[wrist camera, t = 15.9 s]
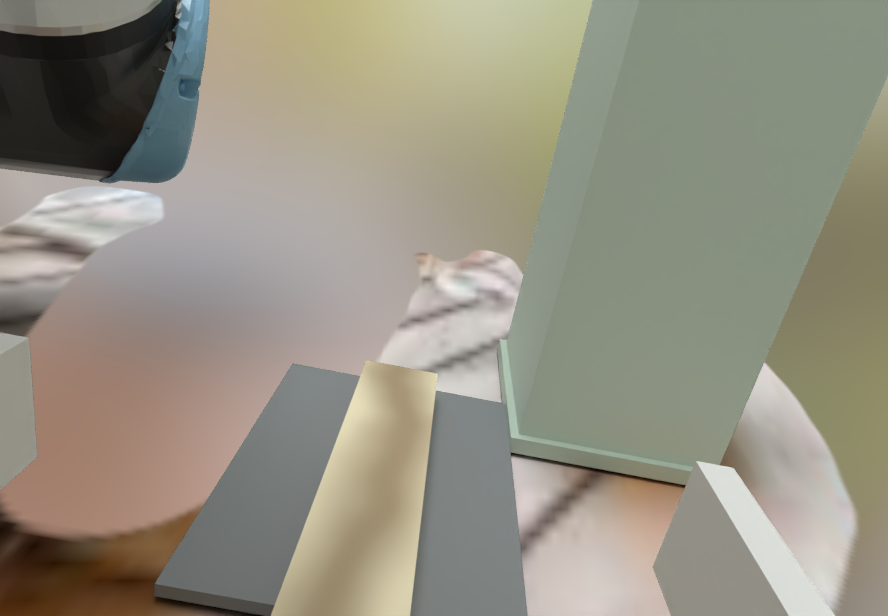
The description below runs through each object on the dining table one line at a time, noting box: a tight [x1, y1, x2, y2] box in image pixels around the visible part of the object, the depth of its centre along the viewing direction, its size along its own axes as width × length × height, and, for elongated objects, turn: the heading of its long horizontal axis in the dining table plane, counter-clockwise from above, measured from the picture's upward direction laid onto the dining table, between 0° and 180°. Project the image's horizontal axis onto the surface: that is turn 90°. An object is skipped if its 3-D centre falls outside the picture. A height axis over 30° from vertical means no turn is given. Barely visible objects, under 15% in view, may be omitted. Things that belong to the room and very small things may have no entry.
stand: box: [497, 0, 888, 485], centre depth 36 cm, size 13×14×30 cm
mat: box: [154, 364, 527, 616], centre depth 30 cm, size 14×18×1 cm
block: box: [271, 360, 438, 616], centre depth 28 cm, size 4×21×2 cm, turn 177°
